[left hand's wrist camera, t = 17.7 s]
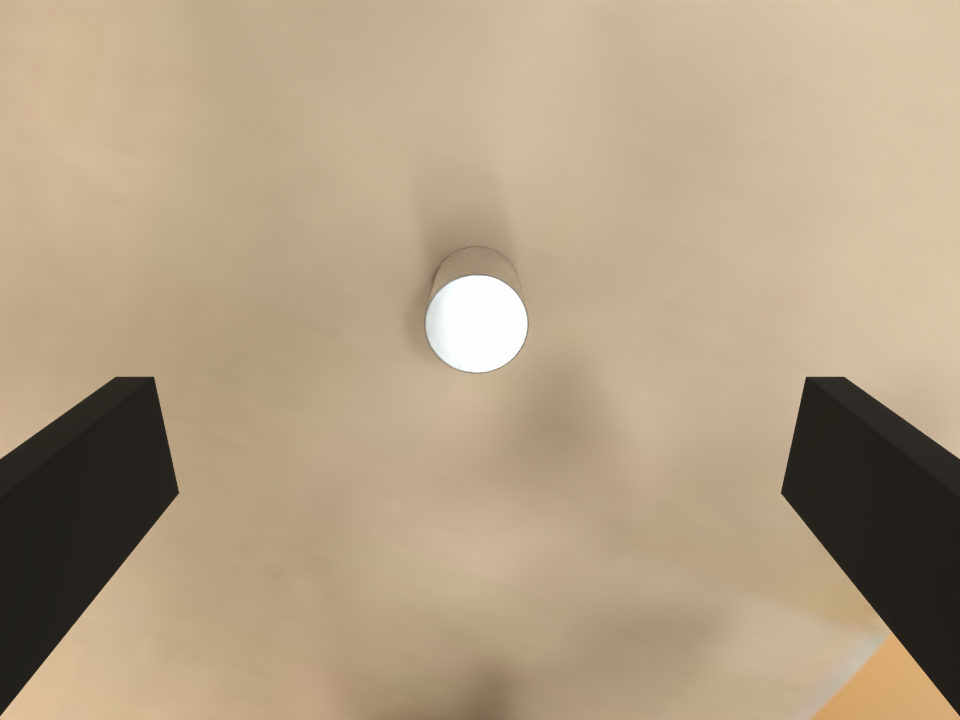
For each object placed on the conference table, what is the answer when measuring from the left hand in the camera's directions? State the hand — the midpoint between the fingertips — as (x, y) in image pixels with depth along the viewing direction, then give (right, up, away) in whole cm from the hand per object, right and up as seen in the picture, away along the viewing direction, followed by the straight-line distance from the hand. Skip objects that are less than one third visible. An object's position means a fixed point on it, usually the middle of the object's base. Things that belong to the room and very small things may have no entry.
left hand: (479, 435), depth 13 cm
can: (0, +4, +12) cm, 13 cm away
